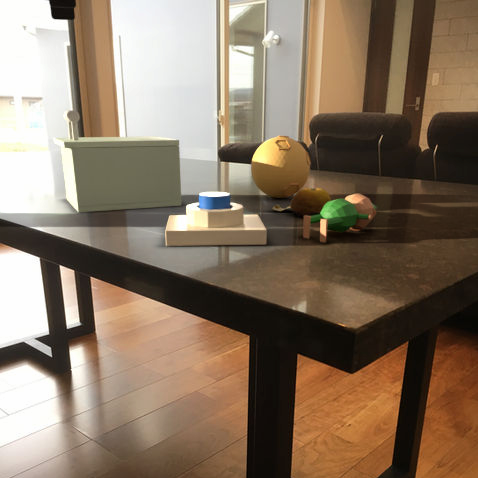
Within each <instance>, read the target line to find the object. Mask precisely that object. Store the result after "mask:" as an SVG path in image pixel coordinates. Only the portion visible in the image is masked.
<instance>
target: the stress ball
mask: <svg viewBox="0 0 478 478" xmlns="http://www.w3.org/2000/svg"><path fill="white" fill-rule="evenodd" d="M311 161H312V160H311V157H310V154H309V152H308V151H307V150H306V149H305V148H304V146H303V145H302V144H301V142H298V141H297V140H295V139H293V138H291V137H290V136H288V135H278V136H276V137H272V138H270V139H267V140H265V141H263V142H262V143H261V144H260V145H259V147H257V149H256V150H255V152H254V154H253V156H252V159H251V163H250V172H251V177H252V180H253V183H254V184H255V186H256V187H257V188H258V190H259V191H261V192H262V193H263V194H265V195H266V196H269V197H271V198H275V199H284V198H289V197H292V196H295V195H296V194H297V193H298V192H299V191H300V190H302V189H303V187H304V186H305V184H306V183H307V181H308V179H309V176H310V172H311V165H312V162H311Z"/></svg>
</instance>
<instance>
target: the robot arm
mask: <svg viewBox="0 0 478 478" xmlns="http://www.w3.org/2000/svg"><path fill="white" fill-rule="evenodd" d="M48 3H49V6H50V16H51V18H52V20H58V21H60V20H61V21H74V20H75V19H76V13H75V9H76V7H77V1H76V0H48Z"/></svg>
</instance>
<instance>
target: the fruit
mask: <svg viewBox="0 0 478 478" xmlns="http://www.w3.org/2000/svg"><path fill="white" fill-rule="evenodd" d="M329 201H332V198H331V195H330V193H329V192H328V191H327V190H326V189H324V188H322V187H321V188H320V187H317V188H311V187H305V188H301V189H300V190H299V191H298V192H297V193H295V194H294V195H293V198H292V199H291V200H290V203H289V206H287V207H284V208H283V207H281V205H280V204H275V206H273V207H272V210H274V211H277V212H283V211H286V210H288V209H291V211H292V213H293V214H295V215H296V216H297V217H299V218H304V216H305V215H306V216H313V215H317V214H320V212H321V210H322V209H323V207H324V205H325V204H326V203H327V202H329Z"/></svg>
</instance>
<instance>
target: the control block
mask: <svg viewBox="0 0 478 478" xmlns="http://www.w3.org/2000/svg"><path fill="white" fill-rule="evenodd" d="M244 208H245V207H244V206H243V204H241V203H236V202H230V208H229V209H219V210H210V209H201V208H199V202H194V203H191V204H187V205H186V207H185V209H186V210H185V213H186V214H169V216H168V220H167V223H166V227H165V231H164V233H165V246H166V247H186V246H187V247H189V246H190V247H193V246H195V247H197V246H199V247H200V246H201V247H202V246H259V245H261V246H263V245H264V246H266V245H267V239H268V238H267V234H268V233H267V232H268V231H267V228H266V226H265V225H264V223H263V221H262V220H261V218H260V216H259V214H257V213H256V214H244Z"/></svg>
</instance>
